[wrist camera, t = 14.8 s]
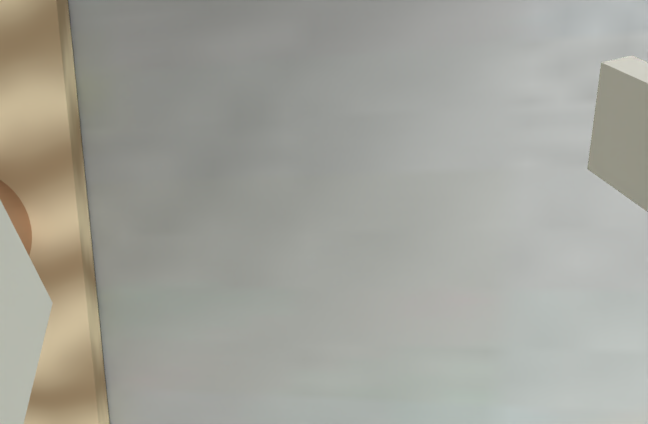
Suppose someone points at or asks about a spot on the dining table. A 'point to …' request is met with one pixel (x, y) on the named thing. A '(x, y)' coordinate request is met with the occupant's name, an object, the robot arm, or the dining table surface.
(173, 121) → the dining table surface
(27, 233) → the tan rounded cylinder
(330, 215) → the dining table surface
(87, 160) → the dining table surface
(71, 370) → the oak runner
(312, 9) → the dining table surface
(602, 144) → the robot arm
